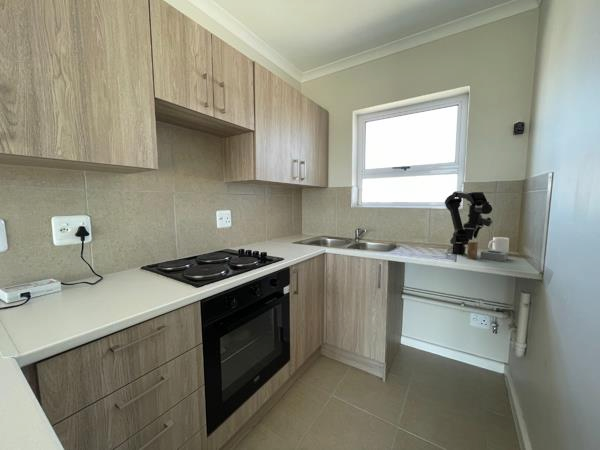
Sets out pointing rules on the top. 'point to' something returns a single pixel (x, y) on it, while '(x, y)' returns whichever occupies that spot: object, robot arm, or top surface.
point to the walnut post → (472, 250)
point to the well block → (494, 255)
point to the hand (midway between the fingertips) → (473, 239)
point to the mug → (499, 244)
